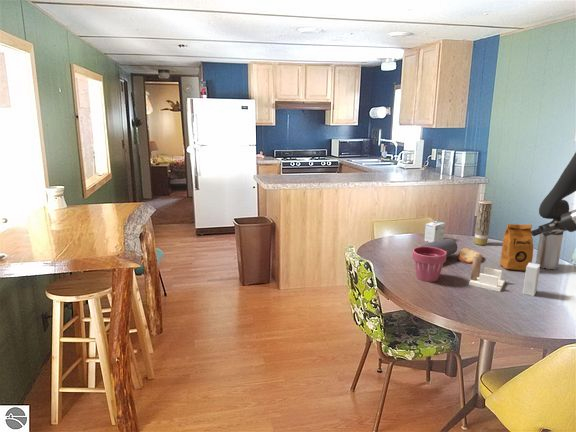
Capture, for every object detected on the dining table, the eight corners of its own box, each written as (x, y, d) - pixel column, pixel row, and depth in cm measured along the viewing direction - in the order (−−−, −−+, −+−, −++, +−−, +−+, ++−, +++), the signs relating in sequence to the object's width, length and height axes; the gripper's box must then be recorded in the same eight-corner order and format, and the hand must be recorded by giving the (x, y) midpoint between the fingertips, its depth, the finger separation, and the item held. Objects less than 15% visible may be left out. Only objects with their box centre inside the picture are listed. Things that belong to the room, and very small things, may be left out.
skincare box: (524, 289, 169) (528, 262, 166) (536, 291, 166) (540, 264, 164) (522, 293, 164) (526, 266, 162) (534, 296, 162) (538, 268, 159)
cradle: (474, 276, 183) (477, 252, 180) (504, 282, 176) (508, 257, 173) (468, 284, 173) (471, 259, 171) (499, 291, 166) (503, 265, 164)
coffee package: (533, 273, 187) (539, 227, 182) (504, 271, 190) (510, 226, 185) (525, 265, 197) (531, 222, 192) (497, 264, 199) (503, 221, 194)
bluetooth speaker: (431, 267, 195) (433, 247, 193) (415, 261, 202) (416, 242, 200) (457, 258, 208) (459, 239, 206) (441, 253, 215) (443, 235, 213)
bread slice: (468, 251, 221) (468, 244, 220) (495, 261, 204) (495, 254, 203) (441, 254, 214) (442, 248, 213) (467, 265, 198) (468, 258, 197)
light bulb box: (433, 237, 245) (435, 220, 243) (443, 240, 240) (445, 222, 238) (423, 240, 239) (425, 223, 236) (434, 243, 234) (435, 225, 231)
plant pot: (422, 285, 172) (424, 257, 169) (404, 274, 185) (406, 247, 182) (451, 282, 176) (453, 254, 173) (431, 271, 189) (434, 245, 186)
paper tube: (471, 242, 235) (476, 200, 229) (480, 241, 237) (485, 200, 231) (480, 246, 228) (485, 203, 223) (489, 245, 230) (494, 202, 225)
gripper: (583, 210, 158) (543, 226, 171) (564, 209, 151) (524, 225, 164) (592, 228, 156) (550, 242, 168) (573, 227, 149) (531, 242, 161)
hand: (538, 234), depth 166 cm, fingers open, 8 cm apart
